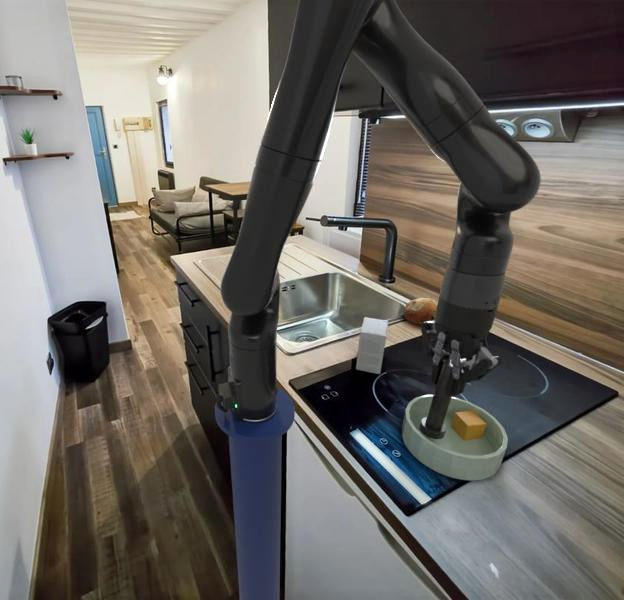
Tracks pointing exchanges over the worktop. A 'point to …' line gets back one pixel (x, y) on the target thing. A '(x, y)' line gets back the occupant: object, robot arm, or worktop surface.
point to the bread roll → (420, 310)
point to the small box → (371, 345)
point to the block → (468, 425)
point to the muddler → (438, 405)
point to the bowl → (455, 442)
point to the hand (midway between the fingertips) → (445, 388)
